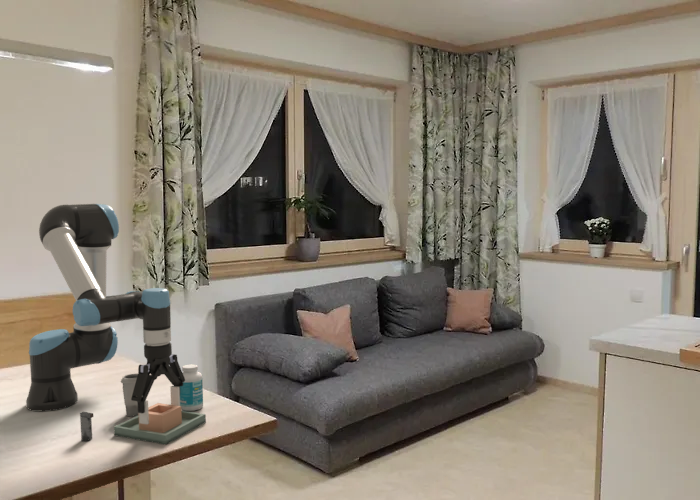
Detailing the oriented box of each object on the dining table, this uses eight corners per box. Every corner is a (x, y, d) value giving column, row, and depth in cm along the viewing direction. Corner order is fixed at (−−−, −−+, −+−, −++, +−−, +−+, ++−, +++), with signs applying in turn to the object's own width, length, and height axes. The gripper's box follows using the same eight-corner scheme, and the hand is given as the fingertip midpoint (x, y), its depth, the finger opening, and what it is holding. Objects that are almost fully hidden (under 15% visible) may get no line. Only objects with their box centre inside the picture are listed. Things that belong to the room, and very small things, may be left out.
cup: (123, 419, 192) (122, 380, 191) (120, 412, 198) (119, 375, 197) (148, 415, 195) (146, 377, 194) (144, 409, 201) (142, 371, 200)
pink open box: (162, 433, 179) (162, 415, 178) (134, 428, 182) (133, 411, 182) (181, 423, 186) (181, 406, 186) (154, 418, 190) (153, 402, 190)
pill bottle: (197, 412, 197) (195, 369, 196) (174, 411, 199) (173, 368, 198) (207, 404, 205) (205, 363, 203) (185, 403, 206) (184, 362, 205)
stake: (79, 440, 176) (77, 414, 175) (86, 436, 179) (85, 410, 178) (89, 442, 175) (87, 415, 174) (96, 438, 177) (95, 412, 176)
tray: (114, 435, 179) (113, 426, 179) (157, 414, 196) (156, 406, 196) (165, 444, 172) (165, 435, 172) (205, 422, 189) (205, 414, 189)
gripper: (137, 354, 169) (140, 432, 171) (195, 334, 192) (197, 403, 194) (115, 352, 172) (118, 428, 174) (175, 332, 195) (177, 400, 197)
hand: (160, 415), depth 184 cm, fingers open, 13 cm apart
